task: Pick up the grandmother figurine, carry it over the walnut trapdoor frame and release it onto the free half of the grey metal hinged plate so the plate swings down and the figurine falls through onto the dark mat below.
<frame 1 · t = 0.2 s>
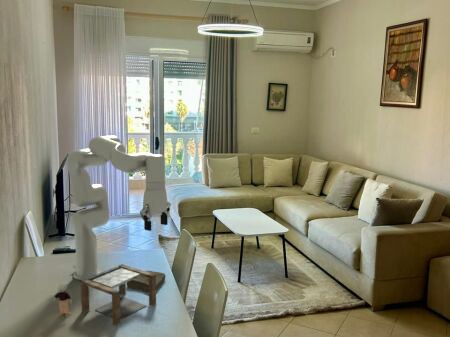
hand: (156, 227, 173), 31 cm above the table, fingers open, 9 cm apart
grandmother figurine: (64, 315, 164), on the table
marble piece: (145, 285, 192), on the table
trapdoor frame: (119, 307, 170), on the table
trapdoor plate: (114, 277, 170), point 12 cm above the table, hinge at 0.0°
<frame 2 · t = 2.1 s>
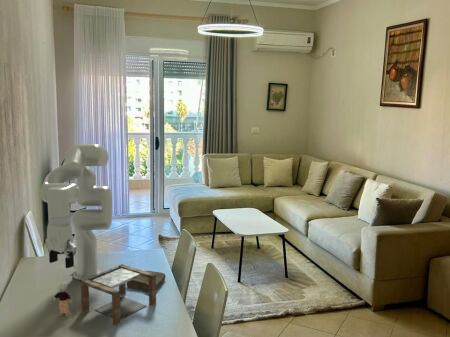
hand: (61, 264, 161), 20 cm above the table, fingers open, 9 cm apart
nothing on the table moved.
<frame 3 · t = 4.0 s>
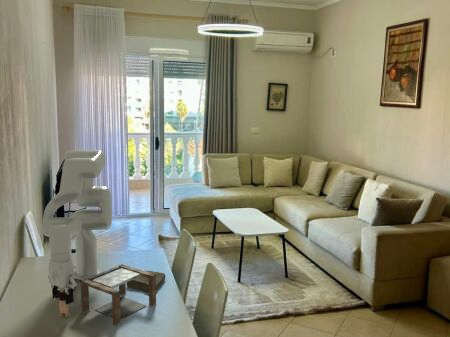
hand: (63, 299, 163), 6 cm above the table, fingers closed on grandmother figurine, 7 cm apart
grandmother figurine: (63, 315, 164), on the table, touching gripper
everything else where it was.
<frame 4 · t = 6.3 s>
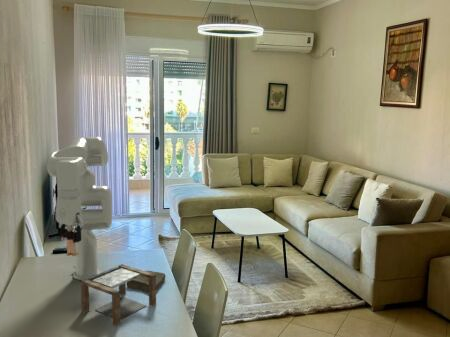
hand: (70, 239, 161), 30 cm above the table, fingers closed on grandmother figurine, 7 cm apart
grandmother figurine: (71, 255, 162), point 23 cm above the table, touching gripper
everything else where it was.
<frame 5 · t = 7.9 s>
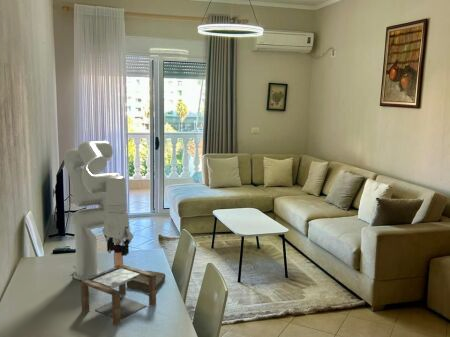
hand: (117, 252, 167), 23 cm above the table, fingers closed on grandmother figurine, 7 cm apart
grandmother figurine: (118, 267, 168), point 17 cm above the table, touching gripper
everything else where it was.
when the fingers open (21 cm above the table, at t = 9.1 s): grandmother figurine drops 4 cm, resting on trapdoor plate.
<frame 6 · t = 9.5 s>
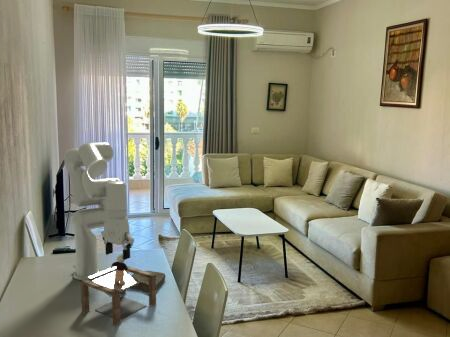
hand: (117, 256, 167), 21 cm above the table, fingers open, 9 cm apart
grandmother figurine: (118, 282, 169), point 10 cm above the table, touching gripper, trapdoor plate
trapdoor plate: (114, 280, 170), point 11 cm above the table, hinge at -16.5°, touching grandmother figurine
everything else where it was.
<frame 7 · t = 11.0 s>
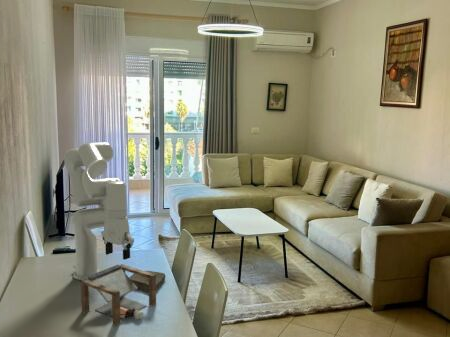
hand: (117, 256, 167), 21 cm above the table, fingers open, 9 cm apart
grandmother figurine: (113, 309, 165), point 2 cm above the table, touching trapdoor frame
trapdoor plate: (113, 282, 171), point 9 cm above the table, hinge at -33.4°
everything else where it was.
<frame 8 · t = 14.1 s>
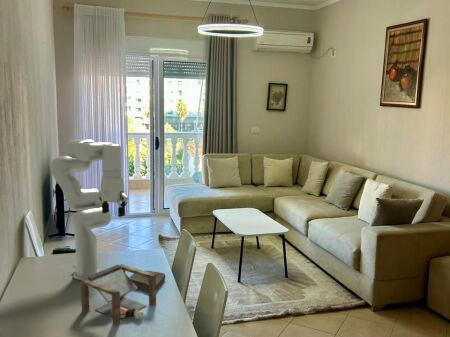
hand: (113, 214, 179), 34 cm above the table, fingers open, 9 cm apart
nothing on the table moved.
at the end: grandmother figurine point 1.7 cm above the table; grandmother figurine 5.4 cm from the trapdoor frame (horizontally) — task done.
